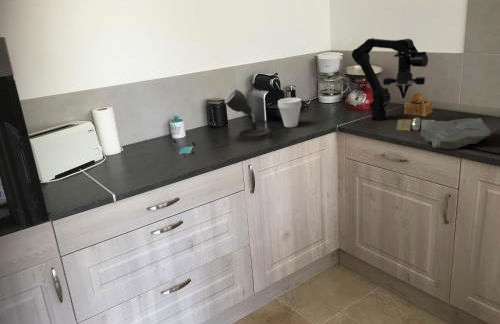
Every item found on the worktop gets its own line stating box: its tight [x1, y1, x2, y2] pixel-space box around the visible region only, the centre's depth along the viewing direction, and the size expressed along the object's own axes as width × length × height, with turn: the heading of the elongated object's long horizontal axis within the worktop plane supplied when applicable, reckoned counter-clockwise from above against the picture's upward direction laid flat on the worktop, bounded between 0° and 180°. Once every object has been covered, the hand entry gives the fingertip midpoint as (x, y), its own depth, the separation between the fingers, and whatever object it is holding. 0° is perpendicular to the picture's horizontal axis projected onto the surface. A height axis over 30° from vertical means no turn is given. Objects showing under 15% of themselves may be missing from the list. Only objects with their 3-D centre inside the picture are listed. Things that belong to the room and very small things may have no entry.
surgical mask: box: [172, 139, 196, 158], centre depth 200 cm, size 21×4×10 cm
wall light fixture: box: [225, 89, 272, 142], centre depth 209 cm, size 16×25×20 cm
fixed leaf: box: [411, 117, 436, 132], centre depth 202 cm, size 10×11×4 cm
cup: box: [277, 97, 302, 128], centre depth 225 cm, size 12×12×14 cm
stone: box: [420, 117, 492, 150], centre depth 178 cm, size 28×8×20 cm
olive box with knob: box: [396, 119, 421, 131], centre depth 204 cm, size 10×11×4 cm
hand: (403, 98), depth 211 cm, fingers closed
